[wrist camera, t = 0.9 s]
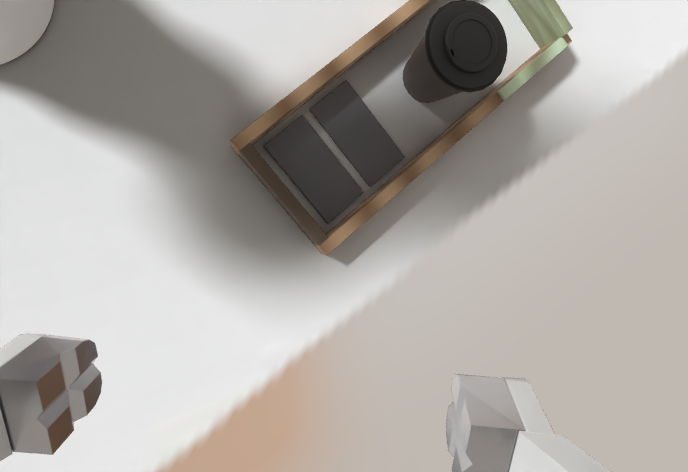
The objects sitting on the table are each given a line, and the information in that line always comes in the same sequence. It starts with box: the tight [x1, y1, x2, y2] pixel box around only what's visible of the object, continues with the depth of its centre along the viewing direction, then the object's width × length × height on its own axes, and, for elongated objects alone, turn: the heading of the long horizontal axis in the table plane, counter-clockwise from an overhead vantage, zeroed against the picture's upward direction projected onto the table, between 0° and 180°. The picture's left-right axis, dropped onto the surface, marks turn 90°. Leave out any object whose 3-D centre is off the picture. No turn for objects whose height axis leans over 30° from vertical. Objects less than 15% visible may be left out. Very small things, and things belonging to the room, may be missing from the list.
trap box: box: [231, 0, 573, 255], centre depth 45 cm, size 36×14×4 cm, turn 130°
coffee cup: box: [403, 0, 507, 103], centre depth 43 cm, size 8×8×10 cm
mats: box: [264, 80, 405, 223], centre depth 46 cm, size 11×10×1 cm
